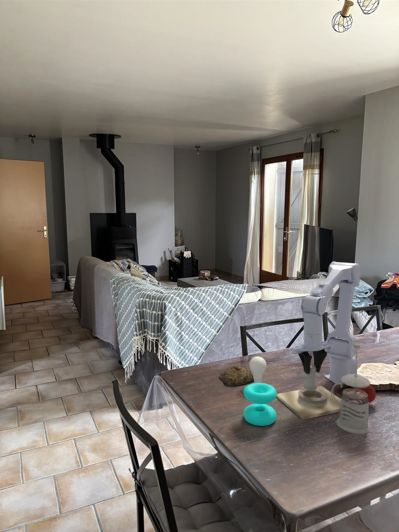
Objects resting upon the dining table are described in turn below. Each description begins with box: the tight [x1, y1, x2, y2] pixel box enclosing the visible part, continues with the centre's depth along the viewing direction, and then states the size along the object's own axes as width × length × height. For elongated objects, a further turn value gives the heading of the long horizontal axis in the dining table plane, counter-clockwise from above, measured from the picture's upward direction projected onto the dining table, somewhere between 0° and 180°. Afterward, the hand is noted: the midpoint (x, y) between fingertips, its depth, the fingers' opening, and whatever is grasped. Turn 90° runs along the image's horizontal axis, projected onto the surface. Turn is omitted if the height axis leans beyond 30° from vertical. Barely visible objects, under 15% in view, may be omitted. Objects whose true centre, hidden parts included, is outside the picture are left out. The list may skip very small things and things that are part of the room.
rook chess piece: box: [303, 364, 318, 391], centre depth 134 cm, size 4×4×8 cm
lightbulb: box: [248, 356, 267, 383], centre depth 146 cm, size 6×6×11 cm
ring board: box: [276, 385, 352, 420], centre depth 133 cm, size 18×16×3 cm
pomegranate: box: [356, 384, 377, 404], centre depth 132 cm, size 6×6×8 cm
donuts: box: [243, 382, 278, 427], centre depth 123 cm, size 10×10×10 cm
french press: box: [330, 343, 372, 435], centre depth 119 cm, size 10×12×25 cm
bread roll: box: [219, 365, 254, 387], centre depth 154 cm, size 13×12×5 cm
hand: (311, 372), depth 133 cm, fingers closed on rook chess piece, 3 cm apart
